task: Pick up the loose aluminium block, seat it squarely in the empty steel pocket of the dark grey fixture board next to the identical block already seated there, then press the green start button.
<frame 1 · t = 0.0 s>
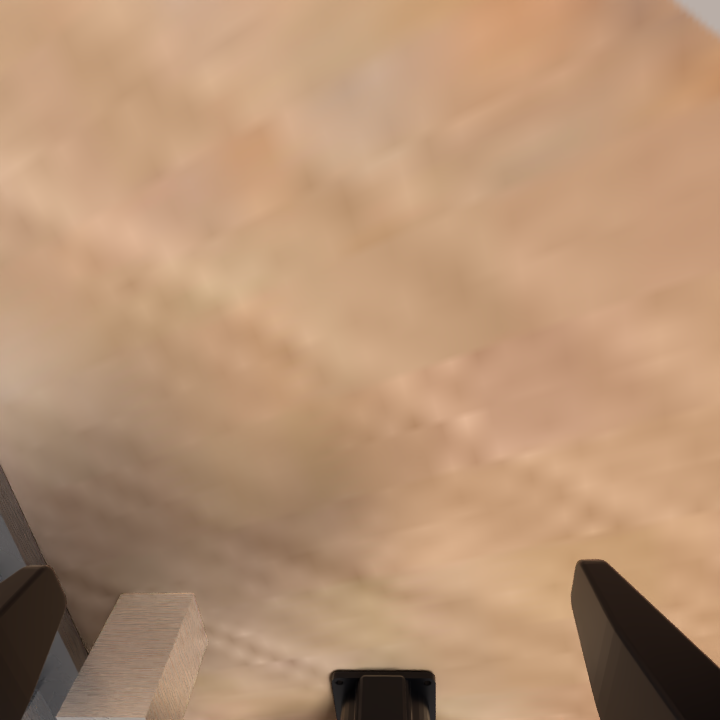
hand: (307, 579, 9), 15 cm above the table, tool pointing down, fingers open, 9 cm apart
aluminium block: (166, 617, 32), on the table
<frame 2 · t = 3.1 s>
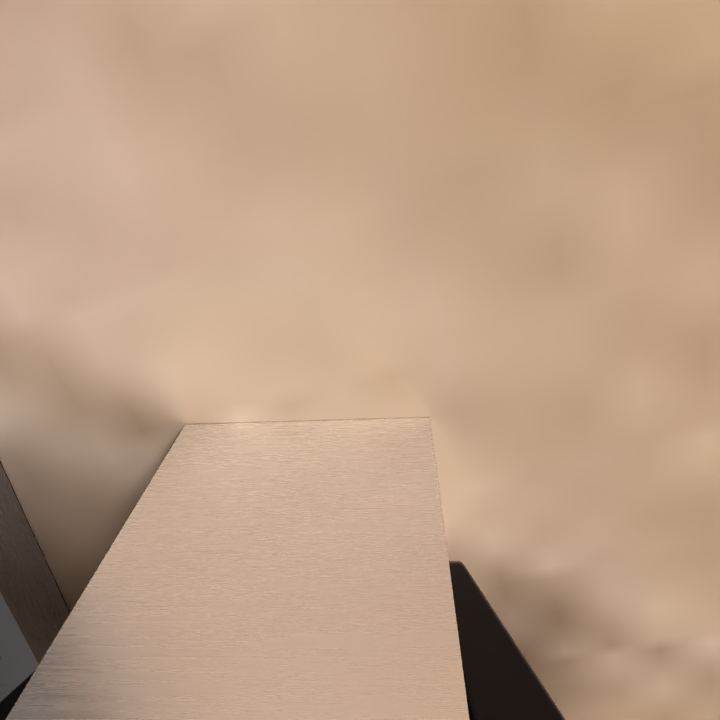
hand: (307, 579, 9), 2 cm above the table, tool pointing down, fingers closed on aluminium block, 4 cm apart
aluminium block: (318, 515, 10), on the table, touching gripper
when the fingers open (4 cm above the table, at t = 7.5 s): aluminium block drops 1 cm, resting on dark grey fixture board.
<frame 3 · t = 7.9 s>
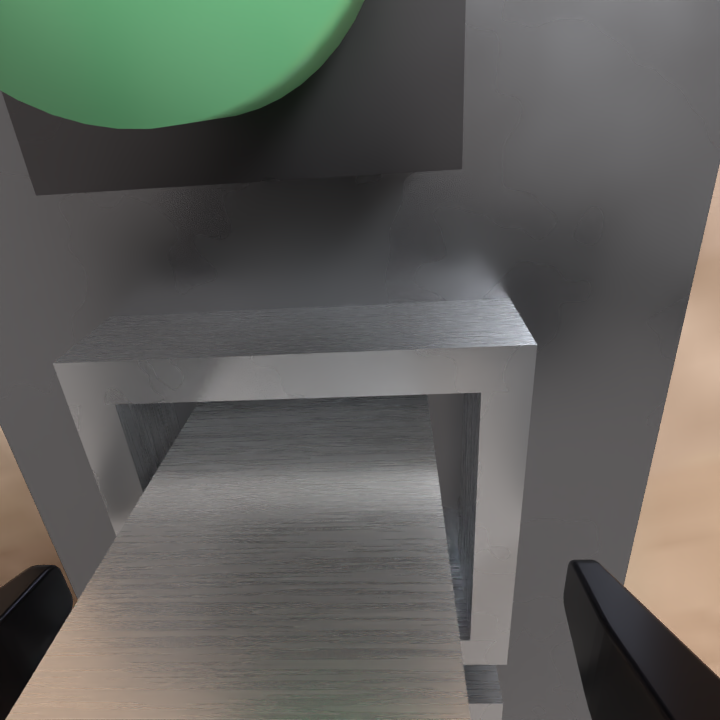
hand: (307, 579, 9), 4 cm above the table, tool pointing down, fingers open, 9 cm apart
dark grey fixture board: (329, 436, 13), on the table
aluminium block: (325, 467, 12), point 1 cm above the table, touching dark grey fixture board
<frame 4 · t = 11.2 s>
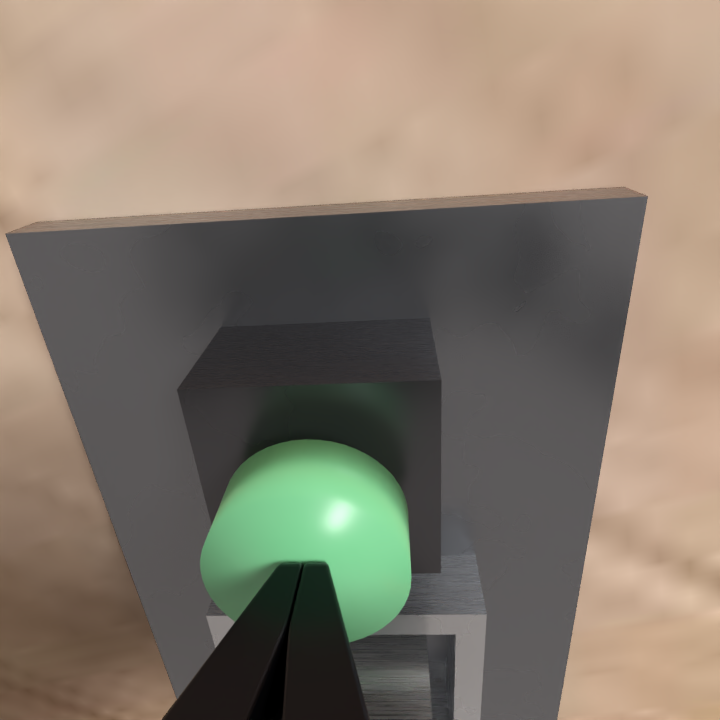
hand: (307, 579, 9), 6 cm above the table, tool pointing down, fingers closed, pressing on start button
dark grey fixture board: (358, 607, 19), on the table
aluminium block: (358, 638, 18), point 1 cm above the table, touching dark grey fixture board
start button: (310, 544, 10), point 6 cm above the table, slide at 0.0 cm, touching gripper
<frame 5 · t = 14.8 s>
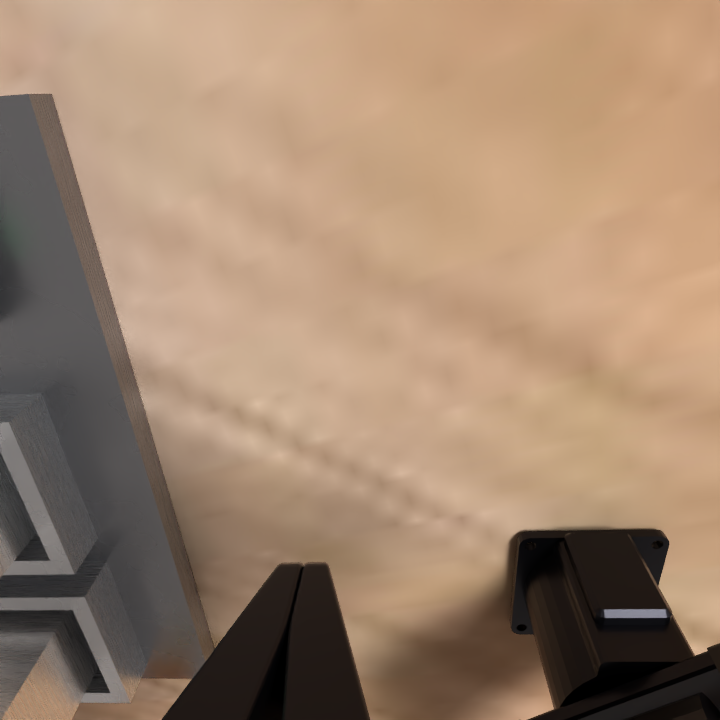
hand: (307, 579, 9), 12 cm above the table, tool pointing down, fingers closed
dark grey fixture board: (4, 456, 24), on the table
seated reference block: (55, 616, 27), resting on dark grey fixture board
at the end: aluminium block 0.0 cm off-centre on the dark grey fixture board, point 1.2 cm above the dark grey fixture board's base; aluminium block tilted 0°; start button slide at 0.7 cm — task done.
